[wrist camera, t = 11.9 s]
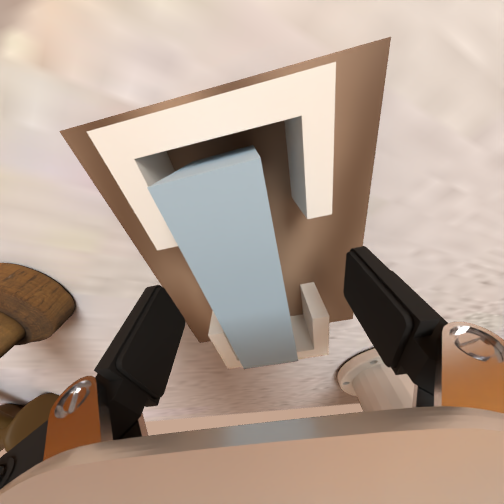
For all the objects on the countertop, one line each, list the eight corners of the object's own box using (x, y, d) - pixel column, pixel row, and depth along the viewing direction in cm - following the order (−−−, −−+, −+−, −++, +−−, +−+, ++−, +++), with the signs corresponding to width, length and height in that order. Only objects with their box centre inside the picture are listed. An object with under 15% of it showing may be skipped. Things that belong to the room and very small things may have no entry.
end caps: (305, 84, 8) (335, 61, 5) (315, 319, 16) (328, 354, 13) (135, 131, 8) (86, 131, 6) (230, 333, 17) (228, 368, 14)
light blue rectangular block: (253, 144, 9) (260, 157, 4) (282, 292, 14) (298, 361, 10) (192, 161, 9) (147, 187, 5) (244, 299, 14) (244, 369, 10)
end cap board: (368, 51, 8) (391, 36, 7) (344, 305, 17) (352, 318, 16) (84, 131, 9) (59, 131, 8) (202, 328, 19) (199, 342, 17)
